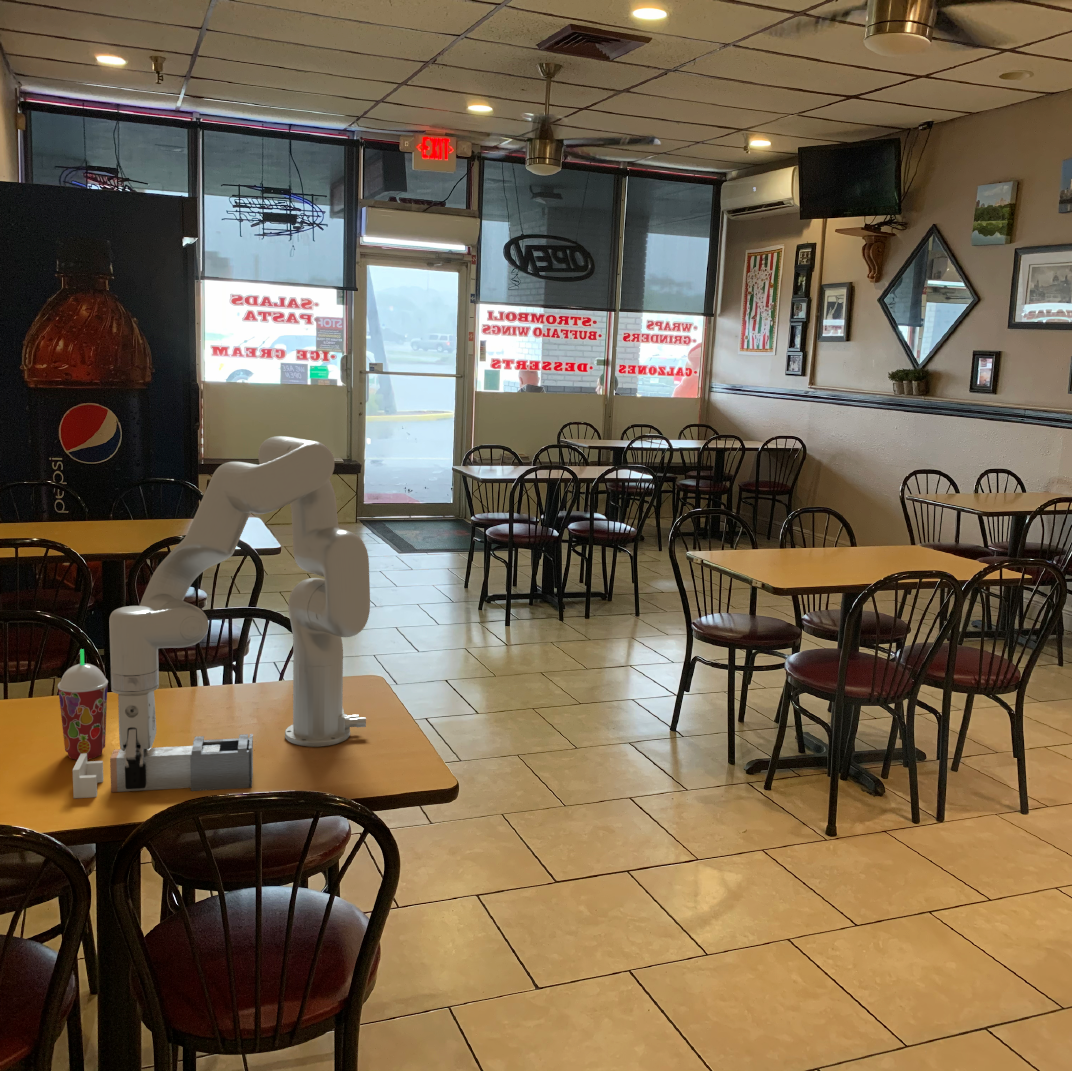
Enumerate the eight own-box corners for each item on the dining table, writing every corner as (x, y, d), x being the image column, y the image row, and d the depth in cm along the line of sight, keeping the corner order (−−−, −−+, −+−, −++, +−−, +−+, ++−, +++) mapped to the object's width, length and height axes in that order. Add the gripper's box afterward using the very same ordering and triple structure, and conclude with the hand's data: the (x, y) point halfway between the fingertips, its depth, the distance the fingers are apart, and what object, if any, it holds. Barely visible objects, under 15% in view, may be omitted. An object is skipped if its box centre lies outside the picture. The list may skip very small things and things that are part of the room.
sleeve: (252, 772, 183) (252, 733, 182) (251, 787, 177) (251, 747, 175) (194, 775, 181) (193, 736, 180) (190, 791, 174) (190, 750, 173)
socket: (103, 779, 177) (102, 752, 176) (96, 796, 170) (95, 768, 170) (81, 780, 176) (80, 753, 176) (73, 798, 170) (72, 769, 169)
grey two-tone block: (220, 776, 180) (220, 744, 179) (219, 785, 177) (218, 752, 176) (114, 782, 176) (113, 749, 175) (111, 791, 172) (110, 758, 171)
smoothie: (116, 746, 192) (114, 644, 189) (99, 763, 184) (96, 656, 181) (71, 745, 192) (68, 642, 189) (52, 762, 184) (48, 655, 180)
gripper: (152, 694, 165) (155, 801, 168) (163, 664, 181) (165, 762, 184) (103, 696, 163) (106, 804, 166) (118, 665, 179) (121, 764, 182)
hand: (137, 781), depth 175 cm, fingers closed on grey two-tone block, 4 cm apart
